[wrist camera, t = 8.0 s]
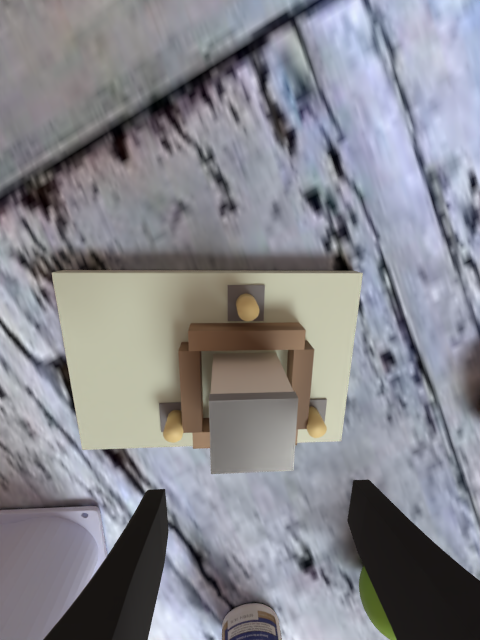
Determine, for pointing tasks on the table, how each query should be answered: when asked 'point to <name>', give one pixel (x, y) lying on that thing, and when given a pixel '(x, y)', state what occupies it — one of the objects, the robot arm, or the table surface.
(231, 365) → the plug block
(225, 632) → the pill bottle
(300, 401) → the socket collar
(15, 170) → the table surface
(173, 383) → the board
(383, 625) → the snail figurine
